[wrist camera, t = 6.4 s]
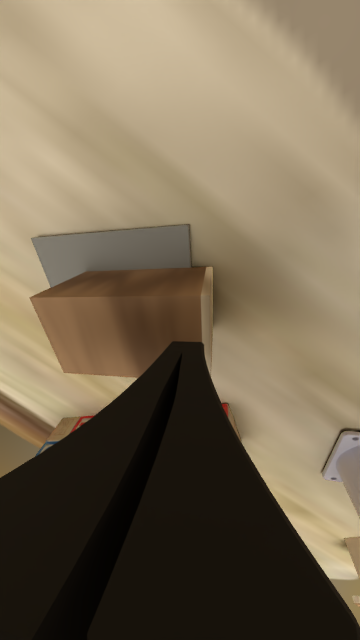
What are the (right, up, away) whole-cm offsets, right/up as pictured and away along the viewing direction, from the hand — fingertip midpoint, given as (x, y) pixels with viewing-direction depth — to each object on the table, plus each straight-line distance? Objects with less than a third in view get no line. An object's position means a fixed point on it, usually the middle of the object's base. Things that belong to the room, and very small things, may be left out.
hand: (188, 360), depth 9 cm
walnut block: (+2, +2, +3) cm, 4 cm away
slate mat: (-5, +3, +7) cm, 9 cm away
